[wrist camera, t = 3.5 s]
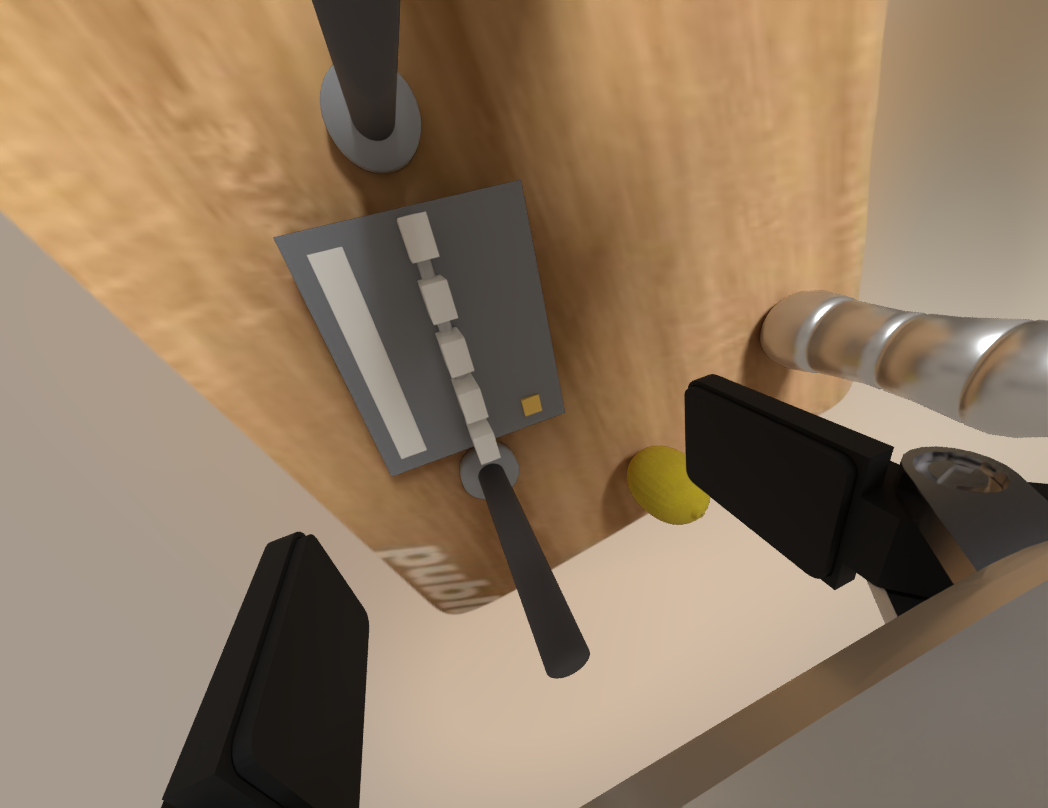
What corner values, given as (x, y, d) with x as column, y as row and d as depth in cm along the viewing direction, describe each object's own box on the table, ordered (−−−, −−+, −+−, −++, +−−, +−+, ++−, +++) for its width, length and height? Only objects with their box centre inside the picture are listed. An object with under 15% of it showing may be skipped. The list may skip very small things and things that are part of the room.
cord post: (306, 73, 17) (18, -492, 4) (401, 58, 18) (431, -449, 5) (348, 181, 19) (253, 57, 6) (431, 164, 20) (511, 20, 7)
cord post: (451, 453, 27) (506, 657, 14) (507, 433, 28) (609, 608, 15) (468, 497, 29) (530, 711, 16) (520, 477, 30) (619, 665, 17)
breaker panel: (289, 237, 19) (272, 237, 16) (505, 186, 21) (522, 179, 19) (391, 452, 26) (391, 478, 23) (548, 396, 28) (566, 413, 25)
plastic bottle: (800, 351, 35) (1210, 464, 17) (742, 367, 33) (1128, 509, 16) (816, 280, 32) (1325, 331, 14) (753, 294, 30) (1239, 370, 13)
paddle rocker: (395, 218, 18) (396, 215, 15) (420, 212, 18) (425, 208, 15) (472, 443, 24) (481, 466, 21) (490, 436, 24) (501, 458, 22)
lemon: (614, 491, 34) (671, 556, 27) (605, 444, 32) (666, 503, 25) (665, 468, 35) (732, 525, 28) (661, 420, 33) (733, 470, 26)
